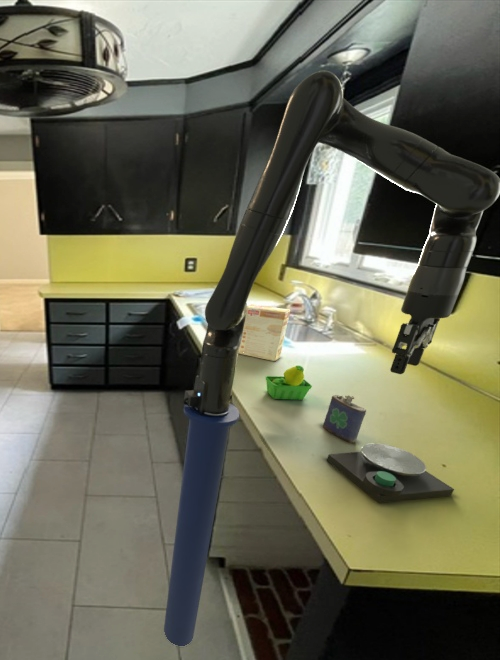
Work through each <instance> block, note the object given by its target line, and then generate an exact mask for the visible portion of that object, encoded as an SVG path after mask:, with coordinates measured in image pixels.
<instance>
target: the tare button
mask: <svg viewBox="0 0 500 660" xmlns="http://www.w3.org/2000/svg"><path fill="white" fill-rule="evenodd" d="M374 480H375V481H376V482H377V483H379V484H381V485H383V486H387V487H393V485H394V483H395V480H396V478H395V477H394V476H393V475H392V474H390V473H387V472H384V471H378V472H377V474H376V476H375V479H374Z"/></svg>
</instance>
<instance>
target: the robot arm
mask: <svg viewBox="0 0 500 660" xmlns="http://www.w3.org/2000/svg"><path fill="white" fill-rule="evenodd" d="M317 144H322V145H325V146H327V147H331V148H332V149H336V150H338V151H339V152H342V153H343V154H346V155H348V156H350V157H352V158H353V159H355V160H357V161H358V162H360V163H362V164H363V165H365V166H366V167H368V168H369V169H370V170H372V171H374V172H376V174H378V175H380V176H382V177H383V178H385V179H387V180H389V181H390V182H391V183H394V184H396V185H397V186H399V187H401V188H402V189H404V190H405V191H409V192H410V193H411V192H412V193H416V194H419V195H421V196H423V197H424V198H426V199H427V200H429V201H431V202H432V203H434V204H436V205H435V208H434V211H433V215H432V219H431V224H430V228H429V234H428V236H427V239H426V241H425V244H424V246H423V248H422V250H421V251H422V252H421V254H420V258H419V260H418V263H417V266H416V268H415V270H414V272H413V273H412V276H411V278H410V281H409V285H408V288H407V291H406V294H405V297H404V299H403V302H402V306H401V308H400V312H401V313H402V314H404V315H409V316H410V319H409V320H408V322H406V323H405V322H403V323H401V325H400V328H399V331H398V334H397V335H396V339H395V342H394V345H393V347H392V349H391V353H392V354H394V357H393V361H392V364H391V367H390V368H389V369H390V370H389V371H390V373H394V374H397V375H403V374H404V373H405V372H406V369H407V367H408V365H409V366H414V367H416V366H418V365H420V362H421V359H422V357H423V355H424V352H425V350H426V349H428V346H429V345H430V344H432V342H433V341H432V340H433V338H434V335H435V333H436V330H437V327H438V325H439V322H440V319H446V318H449V317H450V316H451V314H452V311H453V309H454V307H455V304H456V302H457V299H458V296H459V294H460V291H461V289H462V287H463V284H464V281H465V277H466V272H467V269H468V266H469V264H470V261H471V258H472V257H473V253H474V251H475V248H476V244H477V239H478V238H477V235H476V234H477V229H478V227H479V225H480V222H481V219H482V216H483V213H484V211H485V210H487V209H488V208H490V207H492V205H493V204H495V202H496V201H497V199H499V197H500V177H499V176H498V175H497V173H495V172H494V171H492V170H491V169H489V168H487V167H485V166H483V165H481V164H478V163H476V162H473V161H471V160H467V159H465V158H463V157H460V156H456V155H454V154H451V153H450V152H448V151H446V150H445V149H444V148H442V147H440V146H438V145H436V144H435V143H433V142H431V141H429V140H427V139H426V138H423V137H422V136H421V135H418V134H416V133H414V132H411V131H408V130H406V129H404V128H400V127H398V126H393V125H390V124H387V123H384V122H381V121H378V120H376V119H375V118H371V117H370V116H367V115H366V114H364V113H363V112H361V111H360V110H358V109H357V108H355V107H354V106H353V105H352V104H351V103H350V102H349V101H347V99H345V98H344V90H343V86H342V83H341V81H340V79H339V78H338V77H337V75H336V74H335V73H334V72H331V71H328V70H318V71H315V72H313V73H311V74H309V75H308V76H306V77H305V78H303V80H302V81H300V83H298V85H297V86H296V87H295V88H294V89H293V91H292V92H291V95H290V96H289V98H288V101H287V103H286V106H285V110H284V112H283V116H282V120H281V123H280V126H279V128H278V133H277V136H276V138H275V142H274V145H273V147H272V150H271V153H270V156H269V158H268V161H267V162H266V165H265V167H264V169H263V171H262V173H261V175H260V177H259V180H258V182H257V184H256V186H255V189H254V191H253V193H252V196H251V198H250V200H249V202H248V205H247V207H246V209H245V211H244V214H243V217H242V219H241V222H240V224H239V226H238V229H237V232H236V235H235V237H234V239H233V243H232V246H231V249H230V251H229V252H230V253H229V256H228V259H227V261H226V265H225V268H224V270H223V272H222V275H221V277H220V279H219V281H218V283H217V285H216V286H215V288H214V290H213V292H212V294H211V295H210V298H209V299H208V301H207V303H206V305H205V308H204V318H205V321H206V323H207V327H206V332H205V336H204V338H203V341H202V347H201V356H200V363H199V370H198V375H196V376H195V379H194V386H193V387H194V388H193V389H192V390H184V398H183V400H182V403H183V405H187V406H193V407H194V408H195V410H196V411H197V412H198V413H199V415H205V416H210V417H223V416H226V415H227V414H228V413H229V406H230V404H231V401H232V400H233V395H232V393H233V387H234V381H235V377H236V376H235V375H236V369H237V364H238V359H239V358H238V357H239V354H238V352H239V347H240V344H241V340H242V335H243V329H244V324H245V318H246V312H247V306H248V304H247V302H248V299H249V296H250V293H251V291H252V288H253V286H254V283H255V281H256V280H257V277H258V275H259V274H260V273H261V271H262V269H263V268H264V266H265V265H266V263H267V262H268V260H269V258H270V257H271V255H272V254H273V252H274V250H275V249H276V246H277V245H278V244H279V241H280V239H281V237H282V235H283V233H284V231H285V229H286V226H287V224H288V222H289V220H290V218H291V215H292V213H293V210H294V207H295V204H296V201H297V198H298V195H299V192H300V188H301V185H302V182H303V181H302V180H303V176H304V173H305V170H306V167H307V166H308V162H309V160H310V158H311V156H312V154H313V152H314V150H315V148H316V147H317ZM403 347H405V348H403Z"/></svg>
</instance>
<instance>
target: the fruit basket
mask: <svg viewBox="0 0 500 660" xmlns="http://www.w3.org/2000/svg"><path fill="white" fill-rule="evenodd" d="M304 371H305V370H304V367H303V366H301V365H294V366H292V367H290V368H288V369H286V370H285V371H284V373H283V376H278V375H277V376H276V375H275V376H274V375H273V376H272V375H266V376H265V381H266V382H265V383H266V392H267V393H268V394H269V396H271V398H272V399H273V400H298V401H302V400H304V398H305V397H306V395H308V392H309V391H310V390H311V388H312V387H313V385H312V384H310V382H308V381H307V380H306V379H305V373H304Z"/></svg>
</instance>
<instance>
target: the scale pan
mask: <svg viewBox="0 0 500 660" xmlns="http://www.w3.org/2000/svg"><path fill="white" fill-rule="evenodd" d="M360 452H361V455H362V456H363V457H364V458H365V459H366V460H367V461H368V462H370V463H371V464H373V465H374V466H376V467H378V468H380V469H383V470H385V471H388V472H391V473H395V474H399V475H404V476H419V475H422V474H423V473H424V472H425V471H427V466H426V464H425V463H424V461H423V460H422V459H420V458H419V457H418V456H417V455H415V454H413V453H412V452H410V451H407V450H404V449H402V448H400V447H396V446H394V445H389V444H385V443H375V442H373V443H366V444H364V445H362V446H361V448H360Z"/></svg>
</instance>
